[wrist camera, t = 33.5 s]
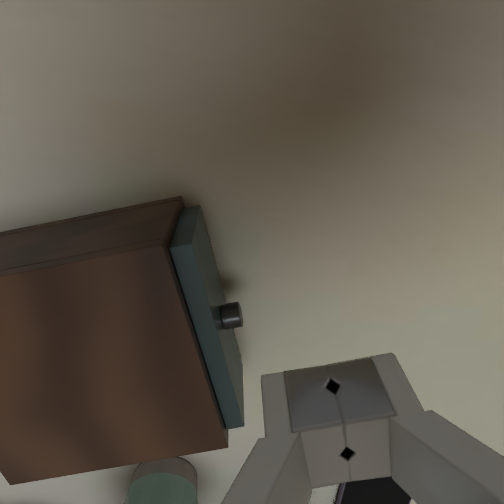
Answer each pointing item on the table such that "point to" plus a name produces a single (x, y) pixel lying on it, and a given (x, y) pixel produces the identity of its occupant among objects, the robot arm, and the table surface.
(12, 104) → the table surface
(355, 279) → the table surface
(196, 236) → the drawer
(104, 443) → the cabinet
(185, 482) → the coffee cup
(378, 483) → the smartphone
